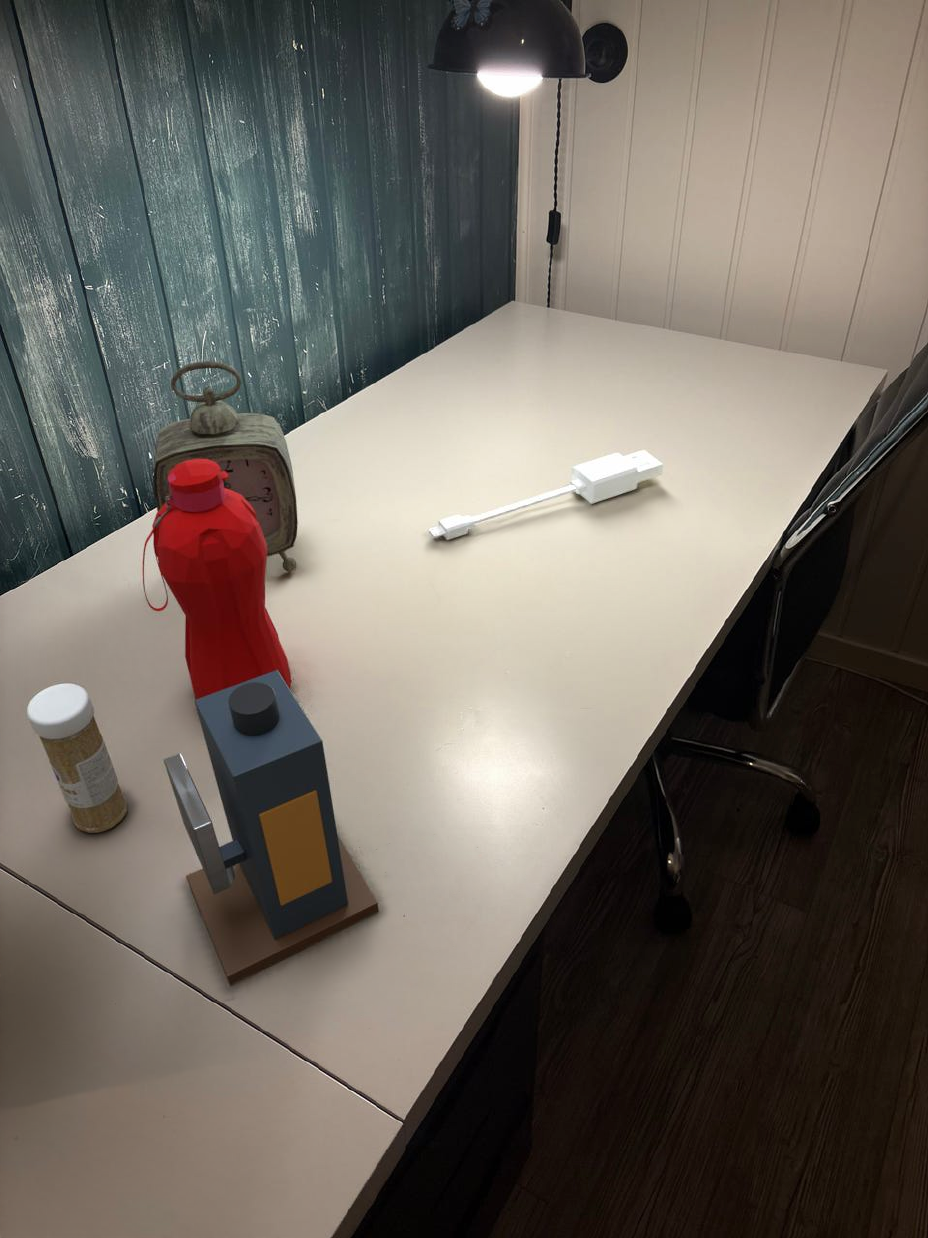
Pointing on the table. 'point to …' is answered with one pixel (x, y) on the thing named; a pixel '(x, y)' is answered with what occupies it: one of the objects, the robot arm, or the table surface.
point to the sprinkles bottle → (78, 756)
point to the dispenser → (273, 832)
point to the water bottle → (216, 579)
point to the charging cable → (572, 488)
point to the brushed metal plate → (197, 823)
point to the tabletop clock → (234, 458)
